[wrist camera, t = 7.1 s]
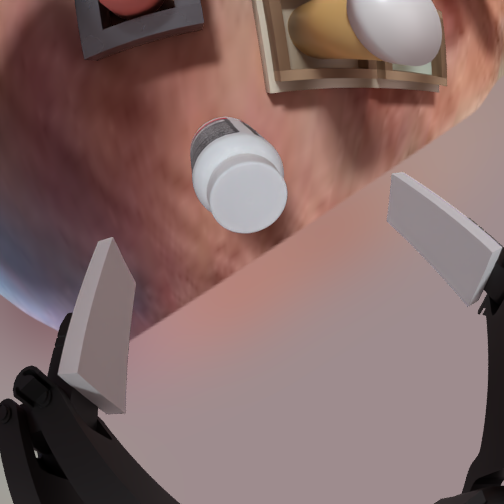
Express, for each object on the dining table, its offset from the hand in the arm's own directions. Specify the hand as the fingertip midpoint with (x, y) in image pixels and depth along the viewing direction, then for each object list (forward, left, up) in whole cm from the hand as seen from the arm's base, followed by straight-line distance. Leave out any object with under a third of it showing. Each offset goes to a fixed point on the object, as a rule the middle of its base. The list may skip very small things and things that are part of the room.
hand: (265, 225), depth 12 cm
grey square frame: (-4, +14, -12) cm, 19 cm away
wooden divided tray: (+13, +9, -12) cm, 20 cm away
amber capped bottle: (+8, +9, -11) cm, 16 cm away
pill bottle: (0, 0, -12) cm, 12 cm away
